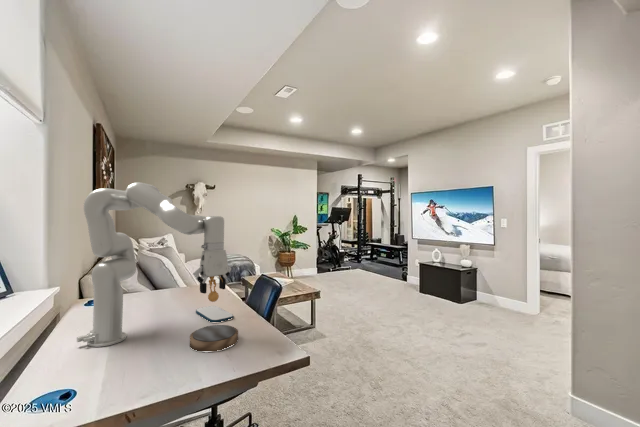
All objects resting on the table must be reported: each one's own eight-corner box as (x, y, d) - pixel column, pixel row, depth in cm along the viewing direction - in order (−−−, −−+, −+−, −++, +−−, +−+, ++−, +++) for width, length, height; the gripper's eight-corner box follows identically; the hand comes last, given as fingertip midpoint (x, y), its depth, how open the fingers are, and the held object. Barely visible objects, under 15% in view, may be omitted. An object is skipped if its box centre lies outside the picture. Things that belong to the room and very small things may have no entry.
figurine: (204, 304, 113) (204, 273, 113) (199, 300, 117) (200, 270, 117) (225, 301, 118) (226, 270, 118) (220, 297, 122) (220, 268, 123)
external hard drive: (193, 312, 153) (193, 309, 153) (214, 308, 161) (215, 304, 161) (212, 325, 136) (212, 321, 136) (235, 319, 144) (235, 315, 144)
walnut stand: (207, 357, 104) (207, 345, 104) (180, 343, 115) (180, 333, 115) (247, 340, 119) (247, 330, 119) (220, 330, 129) (220, 320, 129)
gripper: (199, 249, 109) (198, 296, 108) (237, 246, 123) (236, 288, 122) (188, 247, 113) (187, 293, 113) (226, 245, 127) (225, 285, 127)
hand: (213, 290), depth 118 cm, fingers closed on figurine, 8 cm apart
